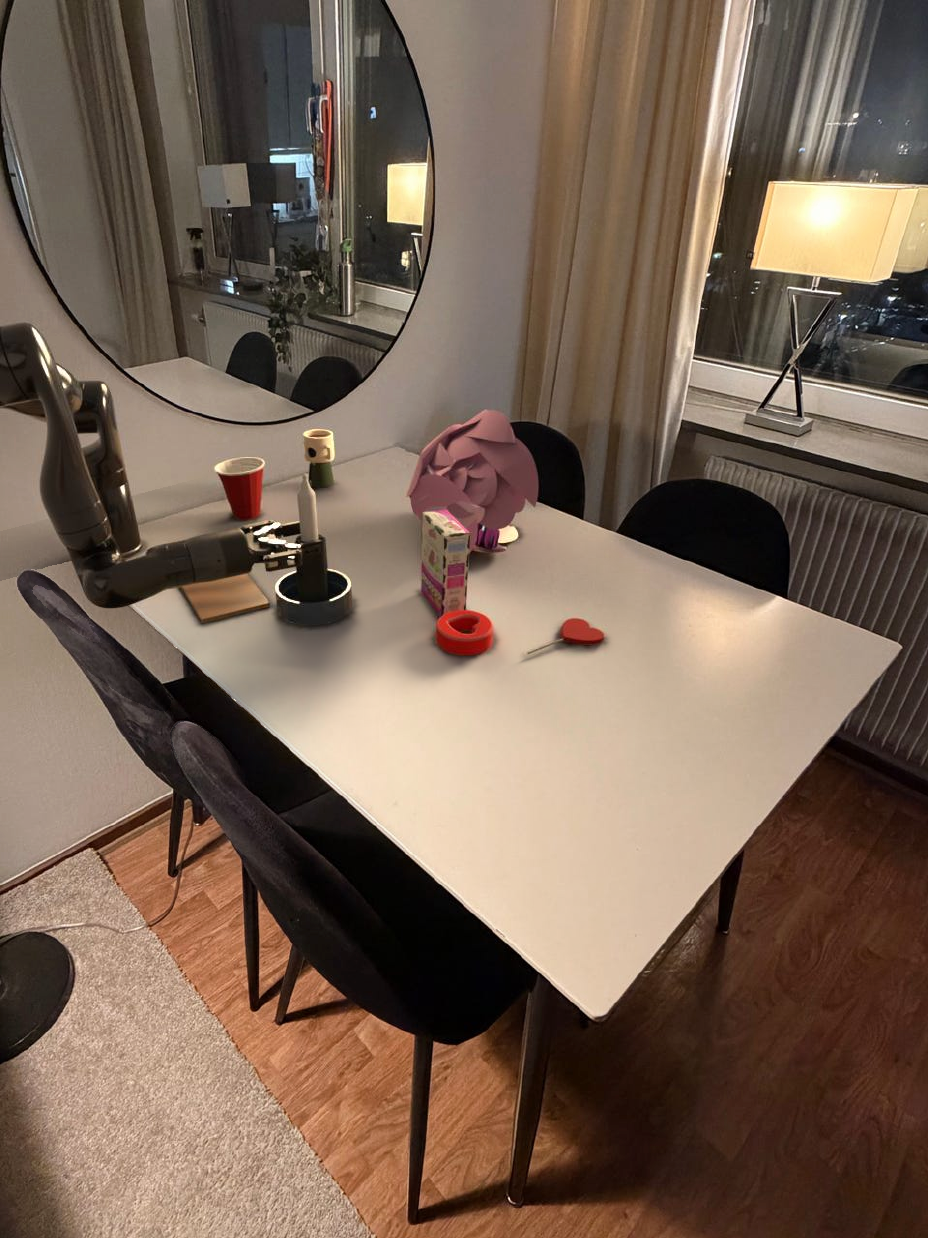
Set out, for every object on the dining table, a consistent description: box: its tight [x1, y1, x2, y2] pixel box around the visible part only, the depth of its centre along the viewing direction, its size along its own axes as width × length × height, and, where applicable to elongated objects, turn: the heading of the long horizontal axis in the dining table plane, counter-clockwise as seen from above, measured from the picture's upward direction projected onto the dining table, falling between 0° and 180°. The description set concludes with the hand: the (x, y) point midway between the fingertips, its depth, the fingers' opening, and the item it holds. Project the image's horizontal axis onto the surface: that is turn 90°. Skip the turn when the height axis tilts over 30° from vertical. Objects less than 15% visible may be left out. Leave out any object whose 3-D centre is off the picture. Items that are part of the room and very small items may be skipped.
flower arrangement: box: [405, 409, 539, 554], centre depth 155 cm, size 35×24×28 cm
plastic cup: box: [213, 456, 266, 521], centre depth 162 cm, size 11×11×12 cm
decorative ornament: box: [435, 609, 494, 656], centre depth 125 cm, size 10×10×3 cm
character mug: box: [302, 428, 335, 488], centre depth 179 cm, size 11×7×13 cm, turn 38°
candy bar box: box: [420, 510, 470, 618], centre depth 131 cm, size 11×5×16 cm, turn 23°
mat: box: [180, 573, 271, 624], centre depth 136 cm, size 20×12×1 cm, turn 32°
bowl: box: [274, 568, 353, 627], centre depth 131 cm, size 13×13×4 cm
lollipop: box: [526, 617, 605, 655], centre depth 125 cm, size 8×1×15 cm
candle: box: [294, 473, 330, 603], centre depth 126 cm, size 5×5×25 cm
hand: (312, 536), depth 125 cm, fingers open, 8 cm apart
